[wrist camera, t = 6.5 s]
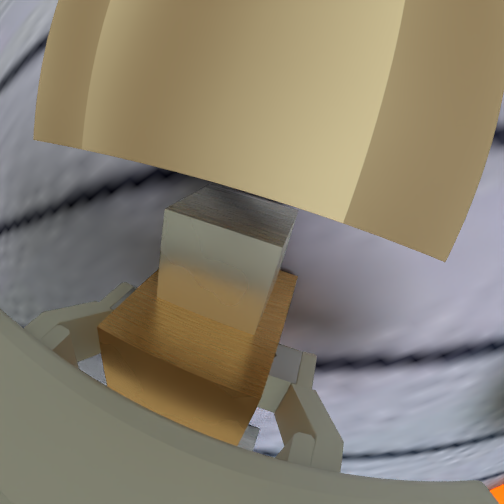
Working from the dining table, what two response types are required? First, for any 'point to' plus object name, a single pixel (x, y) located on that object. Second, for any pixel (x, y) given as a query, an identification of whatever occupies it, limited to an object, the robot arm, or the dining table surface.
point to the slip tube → (205, 314)
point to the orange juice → (498, 494)
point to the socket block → (290, 100)
